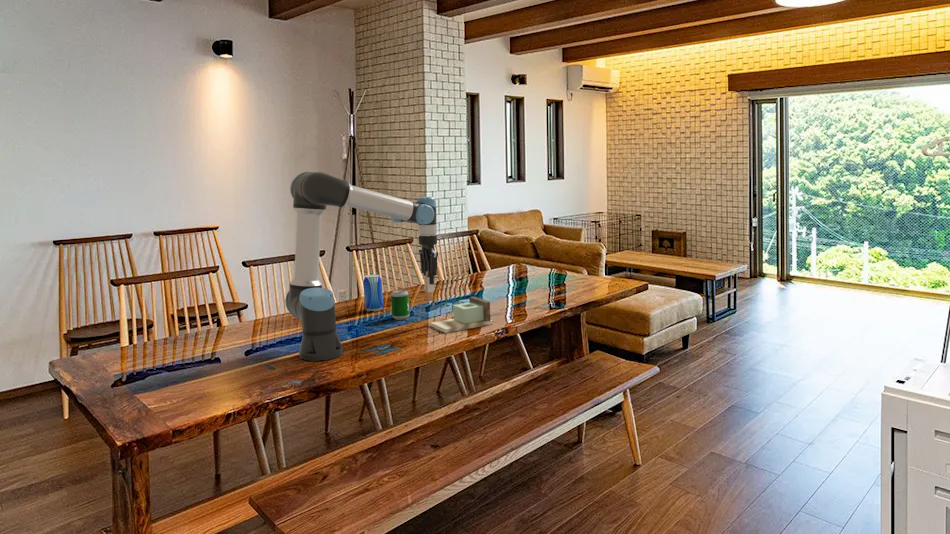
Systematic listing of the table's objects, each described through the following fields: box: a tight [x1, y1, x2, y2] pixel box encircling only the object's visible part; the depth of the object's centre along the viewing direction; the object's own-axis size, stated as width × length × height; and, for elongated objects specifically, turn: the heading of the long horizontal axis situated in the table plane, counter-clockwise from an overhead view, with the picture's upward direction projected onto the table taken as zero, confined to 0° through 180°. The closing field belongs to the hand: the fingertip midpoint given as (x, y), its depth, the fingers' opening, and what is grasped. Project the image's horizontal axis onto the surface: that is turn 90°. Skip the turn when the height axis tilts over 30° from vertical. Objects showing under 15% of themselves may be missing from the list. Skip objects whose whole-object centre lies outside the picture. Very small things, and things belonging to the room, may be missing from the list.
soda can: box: [390, 289, 411, 321], centre depth 276 cm, size 8×8×12 cm
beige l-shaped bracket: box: [429, 296, 494, 334], centre depth 260 cm, size 22×13×10 cm, turn 120°
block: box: [452, 301, 484, 324], centre depth 262 cm, size 9×9×6 cm
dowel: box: [425, 271, 434, 302], centre depth 264 cm, size 3×3×12 cm
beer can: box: [362, 274, 384, 312], centre depth 293 cm, size 8×8×16 cm
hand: (429, 291), depth 264 cm, fingers closed on dowel, 2 cm apart
